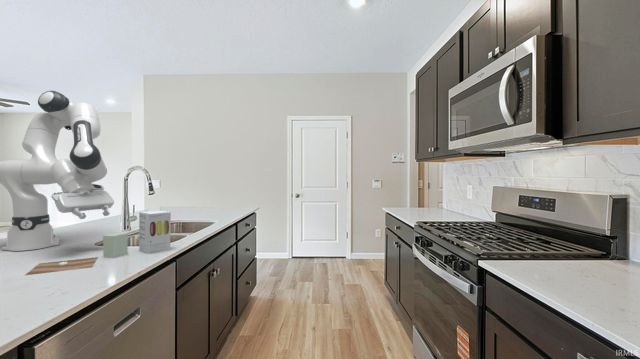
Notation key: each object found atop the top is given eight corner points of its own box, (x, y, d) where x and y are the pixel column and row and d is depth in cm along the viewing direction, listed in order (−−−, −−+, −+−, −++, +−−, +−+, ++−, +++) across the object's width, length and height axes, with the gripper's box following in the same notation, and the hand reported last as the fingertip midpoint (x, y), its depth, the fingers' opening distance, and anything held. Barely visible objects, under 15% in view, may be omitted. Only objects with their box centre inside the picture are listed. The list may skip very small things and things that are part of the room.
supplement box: (148, 254, 122) (147, 213, 122) (138, 251, 128) (138, 211, 128) (171, 250, 130) (171, 211, 130) (161, 246, 136) (161, 209, 135)
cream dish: (60, 265, 104) (59, 262, 104) (68, 264, 105) (68, 261, 105) (58, 266, 102) (58, 263, 102) (66, 265, 104) (66, 263, 103)
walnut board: (39, 266, 106) (39, 263, 106) (98, 260, 114) (98, 257, 114) (24, 279, 94) (24, 275, 94) (92, 270, 102) (92, 267, 102)
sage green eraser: (103, 258, 115) (103, 235, 115) (118, 254, 121) (118, 232, 121) (112, 260, 114) (112, 236, 113) (127, 255, 119) (127, 233, 119)
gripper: (53, 187, 113) (71, 214, 110) (106, 185, 133) (123, 208, 130) (45, 198, 115) (63, 225, 112) (99, 195, 134) (115, 218, 131)
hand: (95, 216), depth 121 cm, fingers open, 8 cm apart
